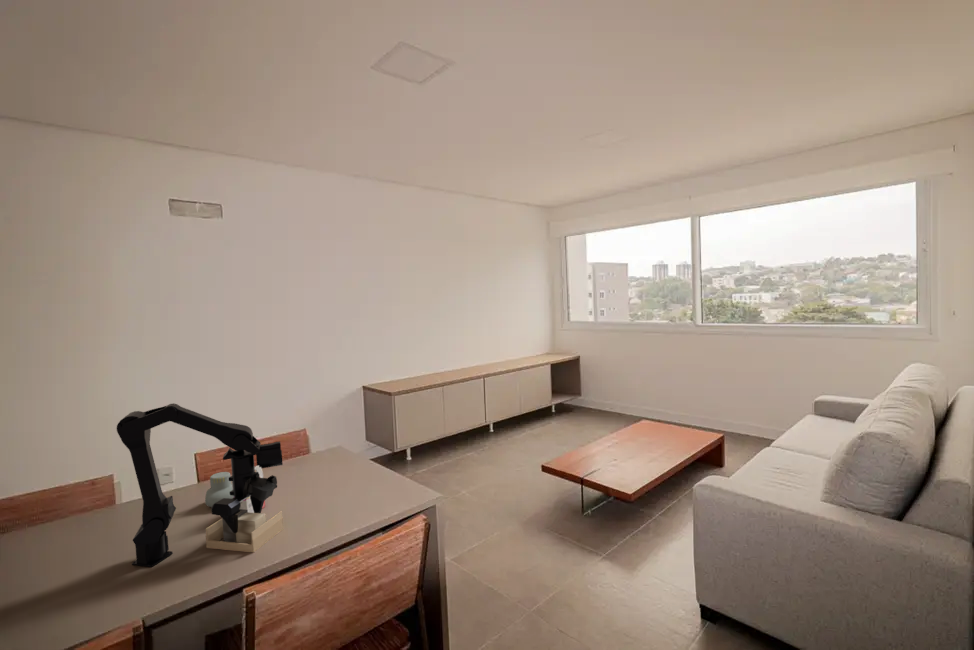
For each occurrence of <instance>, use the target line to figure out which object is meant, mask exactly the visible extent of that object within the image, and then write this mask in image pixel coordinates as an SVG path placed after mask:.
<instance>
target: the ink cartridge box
mask: <svg viewBox="0 0 974 650" xmlns="http://www.w3.org/2000/svg"><path fill="white" fill-rule="evenodd" d="M254 467H255V472H258V473H259V477H260V478H264V471H263V468H261V467H259V465H258V466H257V465H256V466H255V465H254ZM231 484H232V488H233V482H232V481H231ZM233 498H234V496H233ZM240 504H241V507H240V509H245V510H248V512H249V513H254V510H253V507H252V503H251V499H250V497H248V498H246V499H245V500H243V501H242V502H240ZM265 507H266V500H264V503H263V507H262V509H264V508H265Z"/></svg>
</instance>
